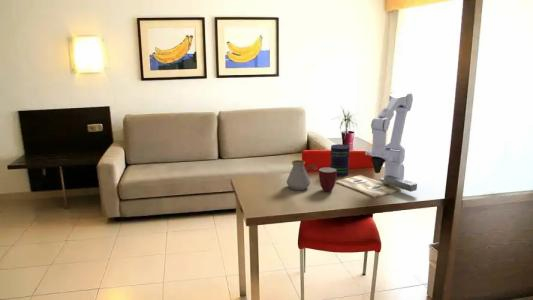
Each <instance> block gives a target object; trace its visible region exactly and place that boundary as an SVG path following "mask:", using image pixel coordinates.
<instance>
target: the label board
mask: <svg viewBox="0 0 533 300" xmlns="http://www.w3.org/2000/svg"><path fill="white" fill-rule="evenodd" d="M338 183H339V185H342V186H343V185H344V187H346V188H348V189H351V190H354V191H356V192H358V193H362V194H364V195H366V196H369V197H372V198H373V199H376V198H379V197H382V196H386V195H389V194H390V195H391V194H393V193H398V192H401V190H402V189H401V188H398V187H395V186H392V185H390V186H385V185H384V182H381V181H379V180H376V179H373V178H370V177H367V176H364V175H361V174H359V175H354V176H351V177H347V178H343V179H342V178H341V179H338V180H335V184H338Z"/></svg>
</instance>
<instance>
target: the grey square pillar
mask: <svg viewBox="0 0 533 300" xmlns="http://www.w3.org/2000/svg"><path fill="white" fill-rule="evenodd" d="M383 178H384V180H383V183H384V185H385V186H390V185H391V186H394V187H396V188H399V189H401V190H405V191H407V192H415V191H417V189H418V183H416V182H412V181H410V180H407V179H405V178H404V179H405V180H404V179H400V178H397V177H394V176H391V175H384V174H383Z"/></svg>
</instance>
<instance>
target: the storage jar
mask: <svg viewBox="0 0 533 300" xmlns="http://www.w3.org/2000/svg"><path fill="white" fill-rule="evenodd" d="M350 155H351V154H350V145H347V144H342V143H341V144H331V145H330V164H329V165H330V167H329V168H334V169H336V170H337V175H336V177H346V176H349V173H350V171H349V170H350V164H349V163H350V162H349V159H350Z"/></svg>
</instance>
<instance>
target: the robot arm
mask: <svg viewBox="0 0 533 300" xmlns="http://www.w3.org/2000/svg"><path fill="white" fill-rule="evenodd" d="M413 100H414V99H413V94H412V92H410V91H409V92H403V91H402V92H401V91H392V92H390V94H389V96H388V101H389V102H388V104H387V106H386V107H384V108H383V109H382V110H381V111H380V113H378V115H377V117H374V118H373V119H372V120H371V123H370V128H371V133H372V147H371V149H372V150H370V149H367V150H365V154H364V155H366V156H371V157H370V161H371V164H372V166H373V169H374V170H373V171H374V173H375V174H380V173H381V170H382V167H383V165H384V174H383V176H384V175H391V176H394V177H397V178H400V179H404V180H406V179H405V166H404V163H403V162H404V161H405V157H406V156H405V152H406V149H405V148H404V147H403V145H401V144H402V143H401V142H402V138H403V134H404V133H403V132H404V128H405V122H406V118H407V113H408V112H410V111H411V109H412V105H413ZM394 112H395V113H394ZM394 116H395V117H394ZM393 117H394V122H393V126H392V127H393V128H392V132H391V138H390V142H389V143H387V131H388V130H389V128H390V124H391V120H392V119H393ZM386 143H387V144H386ZM379 179H380V180H381V181H384V177H380V178H379Z"/></svg>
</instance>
